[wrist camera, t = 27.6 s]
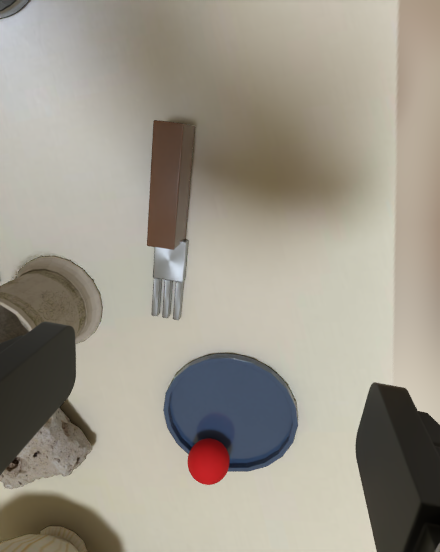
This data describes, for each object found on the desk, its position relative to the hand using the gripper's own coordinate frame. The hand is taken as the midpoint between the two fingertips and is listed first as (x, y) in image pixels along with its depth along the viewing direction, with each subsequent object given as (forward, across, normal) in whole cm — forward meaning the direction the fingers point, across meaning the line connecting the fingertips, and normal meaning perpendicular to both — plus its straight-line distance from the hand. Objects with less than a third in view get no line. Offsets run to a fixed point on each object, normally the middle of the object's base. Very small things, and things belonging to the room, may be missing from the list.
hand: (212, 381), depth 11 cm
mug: (+26, +22, +13) cm, 37 cm away
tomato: (+24, +2, +26) cm, 35 cm away
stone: (+26, +22, +29) cm, 45 cm away
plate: (+26, +1, +21) cm, 34 cm away
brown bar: (+26, +8, +2) cm, 27 cm away
